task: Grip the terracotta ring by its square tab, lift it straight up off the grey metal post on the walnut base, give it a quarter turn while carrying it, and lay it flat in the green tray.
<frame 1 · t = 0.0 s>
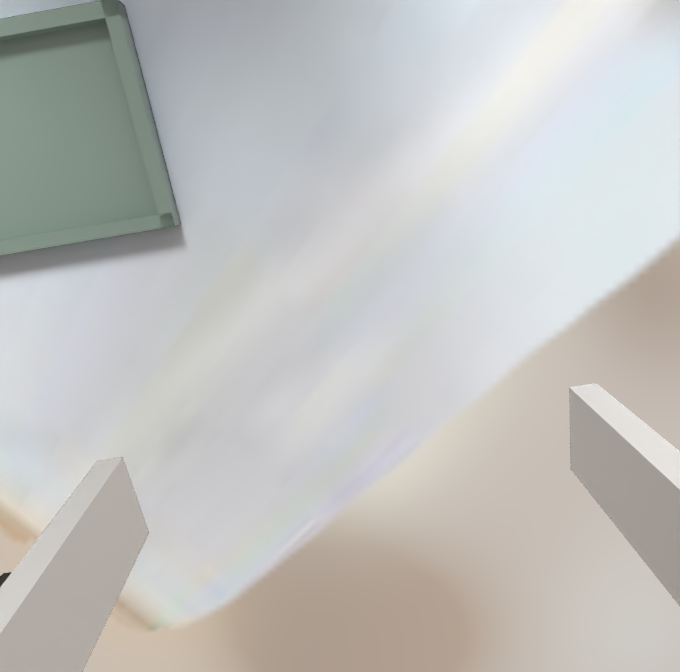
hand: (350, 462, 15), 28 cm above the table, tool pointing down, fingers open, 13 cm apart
tray: (22, 144, 38), on the table
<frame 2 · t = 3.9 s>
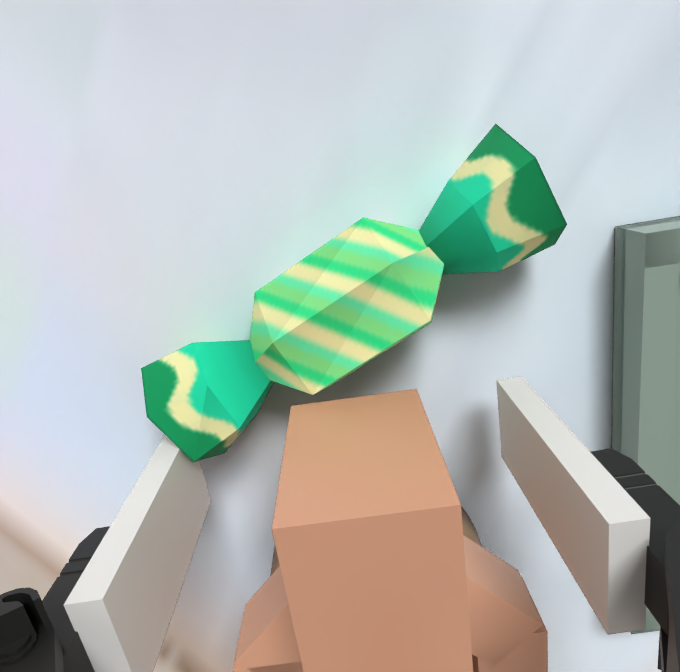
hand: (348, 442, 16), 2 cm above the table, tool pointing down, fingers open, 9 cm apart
candy: (342, 291, 17), on the table, touching gripper
ring: (387, 633, 17), point 3 cm above the table, touching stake
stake: (376, 562, 20), on the table
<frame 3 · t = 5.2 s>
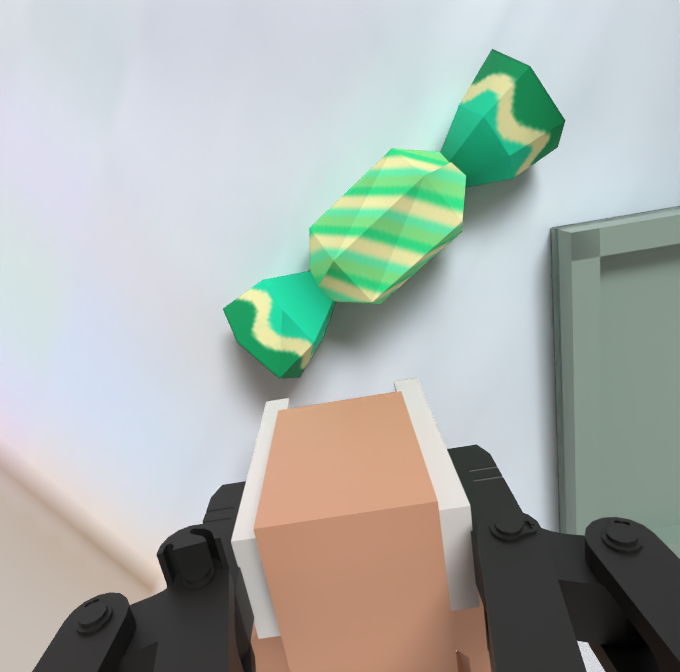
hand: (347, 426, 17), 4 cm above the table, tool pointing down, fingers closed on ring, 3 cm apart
candy: (379, 224, 19), on the table
ring: (381, 636, 17), point 6 cm above the table, touching gripper
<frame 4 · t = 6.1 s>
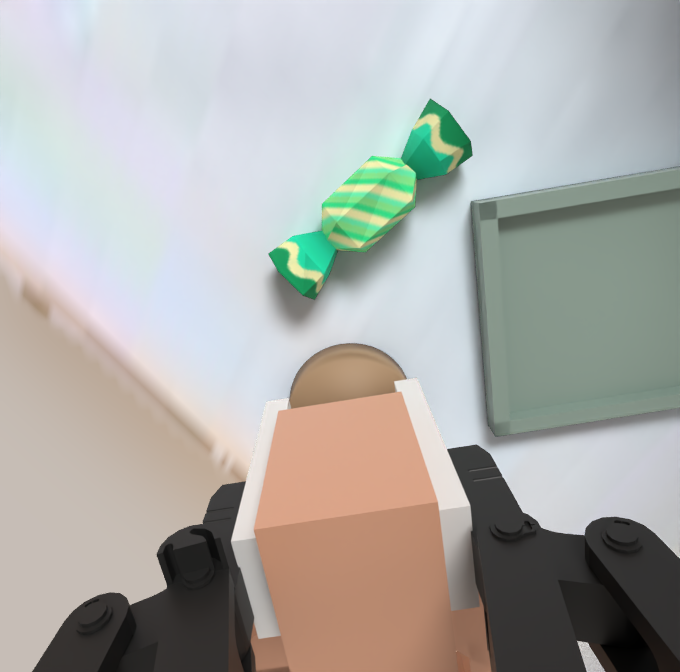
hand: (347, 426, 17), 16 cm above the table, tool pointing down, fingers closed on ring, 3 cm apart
candy: (366, 203, 30), on the table
ring: (381, 636, 17), point 18 cm above the table, touching gripper
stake: (350, 400, 34), on the table
tray: (637, 295, 32), on the table
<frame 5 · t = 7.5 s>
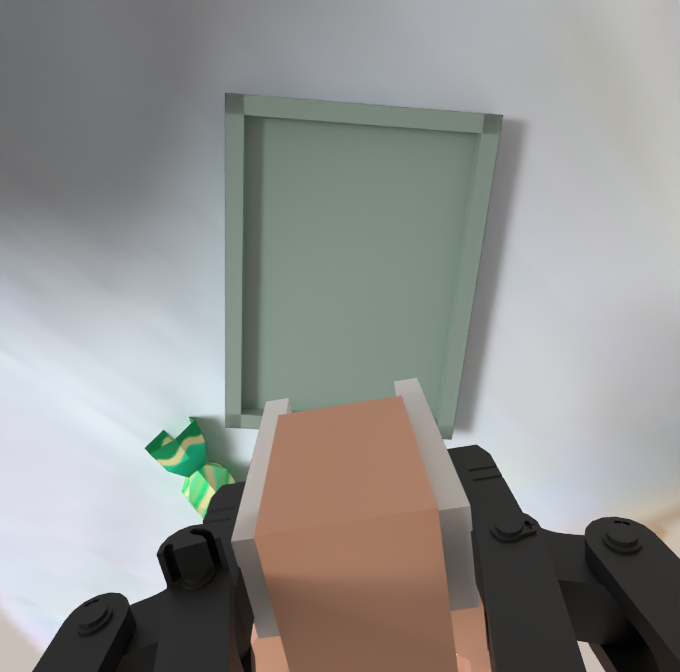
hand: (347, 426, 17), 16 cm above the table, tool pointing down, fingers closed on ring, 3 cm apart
candy: (224, 484, 37), on the table
ring: (382, 640, 17), point 19 cm above the table, touching gripper
tray: (350, 280, 32), on the table
when the fingers open (1 cm above the table, at t = 10.5 s): ring drops 3 cm, resting on tray.
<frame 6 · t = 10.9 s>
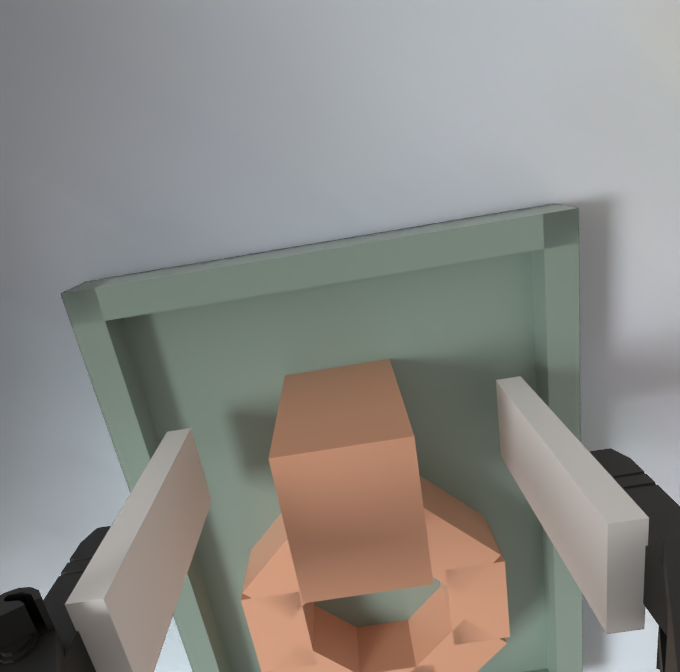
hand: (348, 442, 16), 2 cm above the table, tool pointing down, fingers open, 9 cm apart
ring: (373, 574, 20), point 1 cm above the table, touching tray
tray: (362, 505, 19), on the table
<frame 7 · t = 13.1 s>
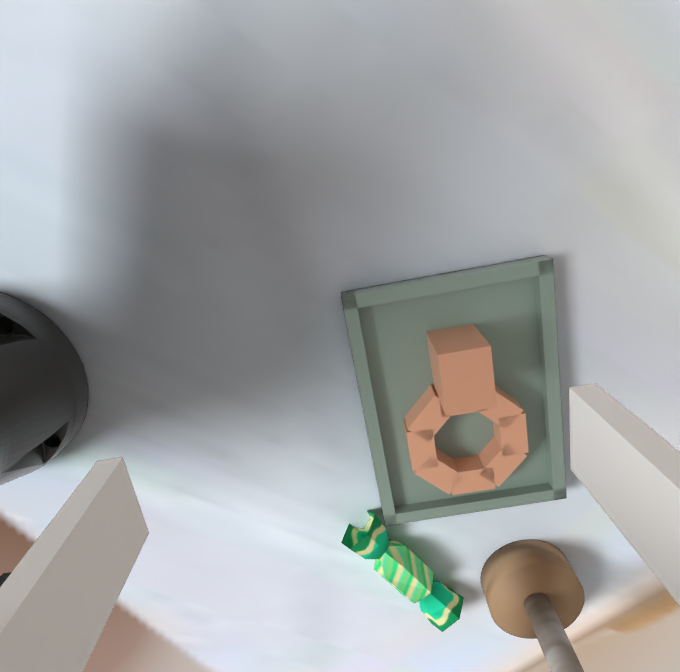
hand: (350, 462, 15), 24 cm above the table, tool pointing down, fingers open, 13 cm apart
candy: (402, 554, 46), on the table
ring: (462, 429, 41), point 1 cm above the table, touching tray
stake: (524, 575, 46), on the table
tray: (456, 395, 41), on the table
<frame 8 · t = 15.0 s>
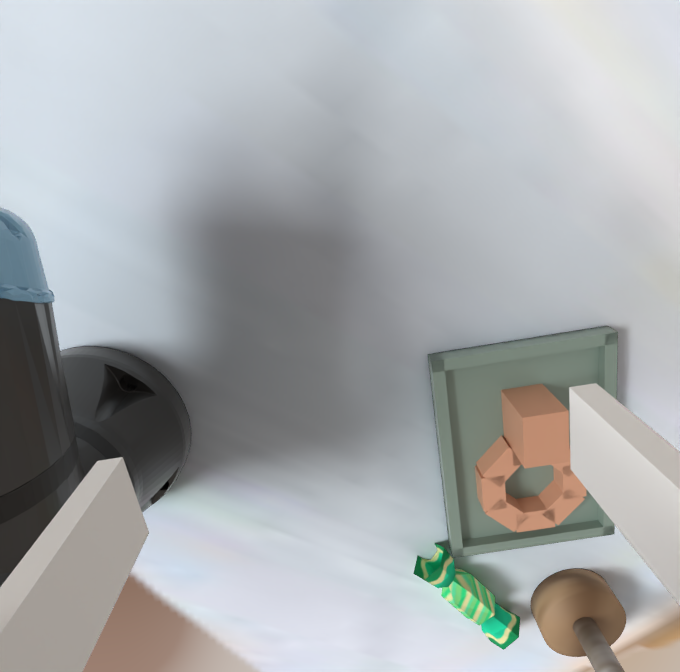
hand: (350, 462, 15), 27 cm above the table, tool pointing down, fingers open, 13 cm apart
candy: (463, 580, 51), on the table
ring: (525, 474, 46), point 1 cm above the table, touching tray
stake: (569, 600, 52), on the table
tray: (522, 444, 46), on the table
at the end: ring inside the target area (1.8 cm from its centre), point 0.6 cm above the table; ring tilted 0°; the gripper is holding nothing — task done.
